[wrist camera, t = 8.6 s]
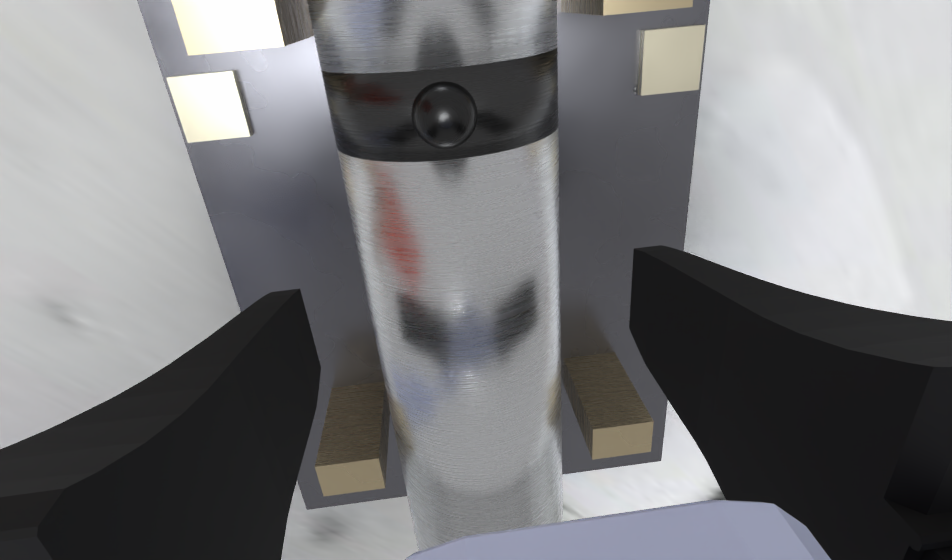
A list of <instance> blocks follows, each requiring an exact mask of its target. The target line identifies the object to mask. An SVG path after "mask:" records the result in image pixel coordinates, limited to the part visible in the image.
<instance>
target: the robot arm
mask: <svg viewBox="0 0 952 560" xmlns="http://www.w3.org/2000/svg"><path fill="white" fill-rule="evenodd" d="M629 329H630V331H631V334H632V336H633V338H634V341H635V343H636V345H637V348H638V350H639V352H640V354H641V356H642V358H643V361H644V363H645V364H646V366H647V368H648V369H649V371H650V373H651V374H652V376H653V377H654V379H655V380H656V382H657V383H658V385H659V387H660V388H661V390H662V391H663V393H664V394H665V396H666V397H667V399H668V400H669V402H670V403H671V405H672V407H673V408H674V410H675V411H676V413H677V414H678V416H679V417H680V419H681V420H682V422H683V423H684V425H685V426H686V428H687V429H688V431H689V432H690V434H691V436H692V437H693V439H694V440H695V442H696V443H697V445H698V447H699V449H700V450H701V452H702V454H703V455H704V457H705V459H706V461H707V462H708V464H709V466H710V468H711V470H712V472H713V474H714V476H715V478H716V480H717V482H718V484H719V486H720V488H721V490H722V492H723V494H724V496H725V498H726V500H708V501H701V502H694V503H687V504H680V505H674V506H667V507H660V508H653V509H646V510H639V511H633V512H626V513H619V514H612V515H605V516H598V517H592V518H585V519H578V520H571V521H564V522H557V523H551V524H544V525H537V526H530V527H523V528H516V529H510V530H503V531H496V532H489V533H482V534H475V535H469V536H464V537H461V538H458V539H455V540H452V541H449V542H446V543H443V544H440V545H437V546H434V547H431V548H428V549H425V550H422V551H419V552H416V553H413V554H412V555H411V556H409V557H408V558H406V559H405V560H952V321H944V320H937V319H930V318H923V317H916V316H909V315H904V314H898V313H892V312H887V311H881V310H875V309H870V308H865V307H860V306H855V305H850V304H846V303H842V302H838V301H834V300H829V299H825V298H821V297H817V296H813V295H809V294H806V293H802V292H799V291H795V290H792V289H789V288H785V287H782V286H779V285H776V284H773V283H770V282H767V281H763V280H760V279H758V278H755V277H752V276H749V275H746V274H743V273H741V272H738V271H735V270H732V269H730V268H727V267H724V266H722V265H719V264H716V263H714V262H711V261H708V260H706V259H703V258H700V257H698V256H695V255H692V254H690V253H687V252H684V251H681V250H678V249H675V248H671V247H667V246H663V245H659V246H650V247H642V248H634V251H633V269H632V286H631V303H630V321H629ZM320 373H321V365H320V361H319V358H318V354H317V350H316V346H315V343H314V339H313V335H312V331H311V328H310V324H309V320H308V316H307V313H306V309H305V305H304V301H303V298H302V294H301V290H300V289H292V290H284V291H275V292H270V293H268V294H267V295H265V296H263V297H262V298H260V299H259V300H257V301H256V302H254V303H253V304H252V305H250V306H249V307H248V308H246V309H245V310H244V311H242V312H241V313H240V314H238V315H237V316H236V317H234V318H233V319H232V320H231V321H229V322H228V323H227V324H225V325H224V326H223V327H221V328H220V329H219V330H217V331H216V332H215V333H213V334H212V335H211V336H209V337H208V338H207V339H205V340H204V341H202V342H201V343H199V344H198V345H196V346H195V347H194V348H192V349H191V350H189V351H188V352H186V353H185V354H183V355H182V356H181V357H179V358H178V359H176V360H175V361H173V362H172V363H171V364H169V365H167V366H166V367H164V368H163V369H161V370H160V371H158V372H156V373H155V374H153V375H152V376H150V377H148V378H147V379H145V380H143V381H142V382H140V383H138V384H136V385H135V386H133V387H131V388H129V389H128V390H126V391H124V392H122V393H121V394H119V395H117V396H115V397H113V398H111V399H109V400H108V401H106V402H103V403H101V404H99V405H97V406H95V407H93V408H91V409H89V410H87V411H85V412H83V413H81V414H79V415H77V416H75V417H73V418H71V419H69V420H67V421H65V422H63V423H61V424H59V425H57V426H54V427H52V428H50V429H48V430H46V431H43V432H41V433H39V434H36V435H34V436H32V437H29V438H27V439H25V440H22V441H20V442H18V443H15V444H13V445H10V446H8V447H5V448H3V449H0V560H281V555H282V549H283V542H284V536H285V529H286V523H287V518H288V513H289V509H290V504H291V500H292V496H293V492H294V489H295V485H296V481H297V478H298V474H299V470H300V467H301V463H302V460H303V456H304V452H305V449H306V445H307V441H308V438H309V434H310V430H311V427H312V423H313V419H314V415H315V411H316V407H317V400H318V392H319V383H320Z"/></svg>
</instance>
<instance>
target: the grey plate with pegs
mask: <svg viewBox="0 0 952 560" xmlns="http://www.w3.org/2000/svg"><path fill="white" fill-rule="evenodd" d="M137 1H138V4H139V7H140V10H141V13H142V16H143V19H144V22H145V25H146V28H147V31H148V34H149V37H150V40H151V43H152V46H153V49H154V52H155V55H156V58H157V61H158V64H159V67H160V70H161V73H162V76H163V79H164V82H165V85H166V88H167V91H168V94H169V97H170V100H171V103H172V106H173V109H174V112H175V115H176V118H177V121H178V124H179V127H180V130H181V133H182V136H183V139H184V142H185V145H186V148H187V151H188V154H189V157H190V160H191V163H192V166H193V169H194V172H195V175H196V178H197V181H198V184H199V187H200V190H201V193H202V196H203V199H204V202H205V205H206V208H207V211H208V214H209V217H210V220H211V223H212V226H213V229H214V232H215V235H216V238H217V241H218V244H219V247H220V250H221V253H222V256H223V259H224V262H225V265H226V268H227V271H228V274H229V277H230V280H231V283H232V286H233V289H234V292H235V295H236V298H237V301H238V304H239V307H240V310H241V312H242V311H244V310H245V309H246V308H248V307H249V306H250V305H252V304H253V303H254V302H256V301H257V300H259V299H260V298H262V297H263V296H265V295H267V294H268V293H270V292H275V291H284V290H292V289H300V290H301V294H302V298H303V301H304V305H305V309H306V313H307V316H308V320H309V324H310V328H311V331H312V335H313V339H314V343H315V346H316V350H317V354H318V358H319V361H320V365H321V373H320V383H319V392H318V400H317V407H316V411H315V415H314V419H313V423H312V427H311V430H310V434H309V438H308V441H307V445H306V449H305V452H304V456H303V460H302V463H301V467H300V470H299V474H298V478H297V481H298V484H299V487H300V490H301V493H302V496H303V499H304V502H305V505H306V508H307V510H308V509H315V508H322V507H330V506H337V505H344V504H351V503H359V502H366V501H373V500H380V499H388V498H395V497H402V496H407V491H406V486H405V481H404V476H403V471H402V466H401V461H400V456H399V452H398V447H397V442H396V437H395V432H394V427H393V422H392V417H391V412H390V407H389V402H388V397H387V392H386V387H385V383H384V378H383V373H382V368H381V363H380V358H379V353H378V348H377V343H376V338H375V333H374V328H373V323H372V318H371V314H370V309H369V304H368V299H367V294H366V289H365V284H364V279H363V274H362V269H361V264H360V259H359V254H358V249H357V244H356V240H355V235H354V230H353V225H352V220H351V215H350V210H349V205H348V200H347V195H346V190H345V185H344V180H343V175H342V171H341V166H340V161H339V156H338V151H337V146H336V141H335V136H334V131H333V126H332V121H331V116H330V111H329V106H328V102H327V97H326V92H325V87H324V82H323V77H322V72H321V67H320V62H319V57H318V52H317V47H316V42H315V37H314V32H313V28H312V23H311V18H310V13H309V8H308V3H307V0H137ZM709 5H710V0H557V51H558V143H559V235H560V326H561V418H562V474H569V473H576V472H583V471H591V470H598V469H605V468H612V467H620V466H627V465H634V464H641V463H649V462H656V461H661V456H662V447H663V437H664V428H665V419H666V409H667V400H668V399H667V397H666V396H665V394H664V393H663V391H662V390H661V388H660V387H659V385H658V383H657V382H656V380H655V379H654V377H653V376H652V374H651V373H650V371H649V369H648V368H647V366H646V364H645V363H644V361H643V358H642V356H641V354H640V352H639V350H638V348H637V345H636V343H635V341H634V338H633V336H632V334H631V331H630V329H629V321H630V303H631V286H632V269H633V251H634V248H642V247H650V246H659V245H663V246H667V247H671V248H675V249H678V250H681V251H683V250H684V240H685V231H686V221H687V212H688V203H689V193H690V184H691V174H692V165H693V156H694V146H695V137H696V127H697V118H698V109H699V99H700V90H701V81H702V71H703V62H704V52H705V43H706V34H707V24H708V15H709Z"/></svg>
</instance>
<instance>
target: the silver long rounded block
mask: <svg viewBox="0 0 952 560" xmlns="http://www.w3.org/2000/svg"><path fill="white" fill-rule="evenodd" d="M307 3H308V8H309V13H310V18H311V23H312V28H313V32H314V37H315V42H316V47H317V52H318V57H319V62H320V67H321V72H322V77H323V82H324V87H325V92H326V97H327V102H328V106H329V111H330V116H331V121H332V126H333V131H334V136H335V141H336V146H337V151H338V156H339V161H340V166H341V171H342V175H343V180H344V185H345V190H346V195H347V200H348V205H349V210H350V215H351V220H352V225H353V230H354V235H355V240H356V244H357V249H358V254H359V259H360V264H361V269H362V274H363V279H364V284H365V289H366V294H367V299H368V304H369V309H370V314H371V318H372V323H373V328H374V333H375V338H376V343H377V348H378V353H379V358H380V363H381V368H382V373H383V378H384V383H385V387H386V392H387V397H388V402H389V407H390V412H391V417H392V422H393V427H394V432H395V437H396V442H397V447H398V452H399V456H400V461H401V466H402V471H403V476H404V481H405V486H406V491H407V496H408V501H409V506H410V511H411V516H412V521H413V525H414V530H415V535H416V540H417V545H418V548H419V551H422V550H425V549H428V548H431V547H434V546H437V545H440V544H443V543H446V542H449V541H452V540H455V539H458V538H461V537H464V536H469V535H475V534H482V533H489V532H496V531H503V530H510V529H516V528H523V527H530V526H537V525H544V524H551V523H557V522H563V510H562V418H561V326H560V235H559V143H558V51H557V0H307Z"/></svg>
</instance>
